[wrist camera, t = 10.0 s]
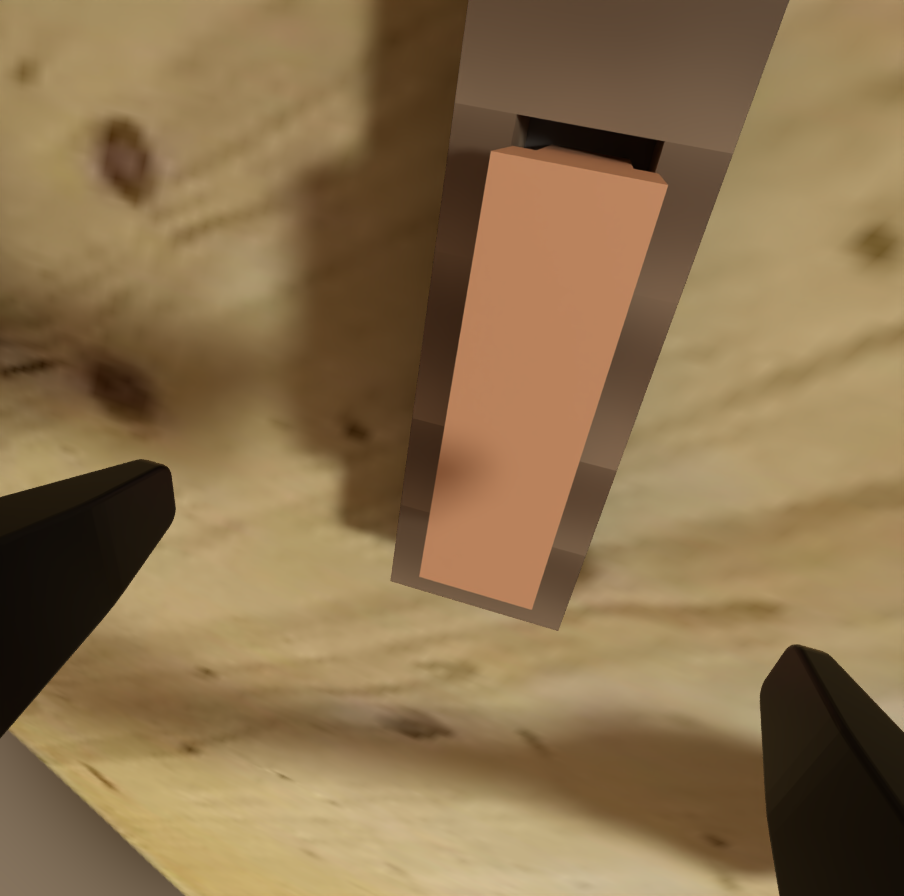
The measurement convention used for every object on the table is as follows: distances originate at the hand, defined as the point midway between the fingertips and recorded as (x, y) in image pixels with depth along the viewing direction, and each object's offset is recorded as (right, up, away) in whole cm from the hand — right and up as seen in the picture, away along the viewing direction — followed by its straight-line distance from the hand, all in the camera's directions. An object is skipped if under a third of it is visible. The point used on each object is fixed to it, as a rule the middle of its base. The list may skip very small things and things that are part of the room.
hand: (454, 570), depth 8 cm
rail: (+3, +5, +10) cm, 11 cm away
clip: (+3, +5, +9) cm, 11 cm away
